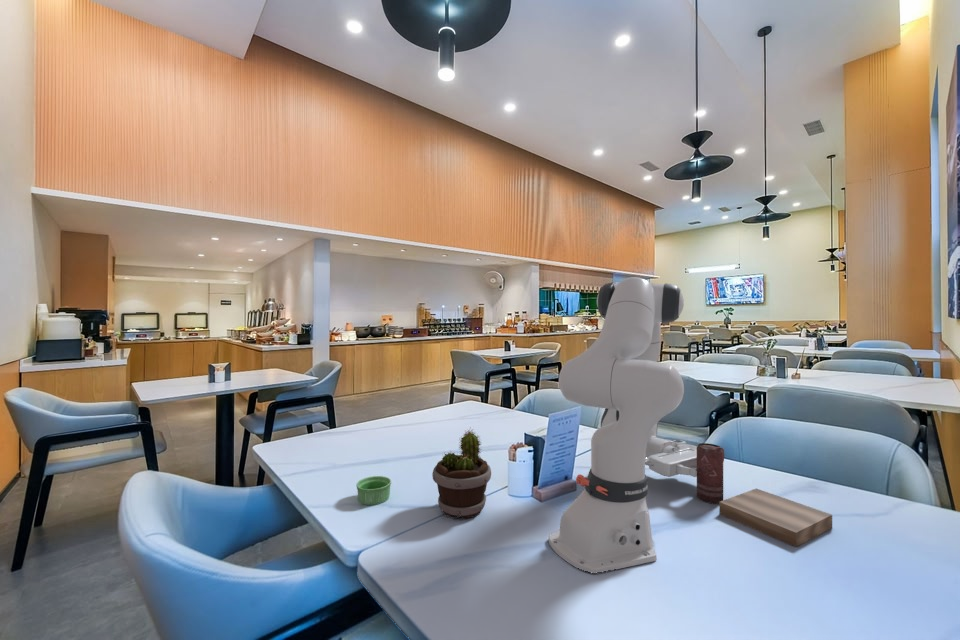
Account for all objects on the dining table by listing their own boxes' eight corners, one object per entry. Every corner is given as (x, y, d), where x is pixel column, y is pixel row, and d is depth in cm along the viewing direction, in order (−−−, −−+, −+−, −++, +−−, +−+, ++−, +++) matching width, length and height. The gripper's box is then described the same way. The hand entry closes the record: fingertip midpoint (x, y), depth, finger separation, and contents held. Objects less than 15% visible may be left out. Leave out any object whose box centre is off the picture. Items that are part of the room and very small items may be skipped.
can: (728, 505, 102) (728, 450, 102) (701, 503, 103) (701, 448, 103) (719, 495, 108) (719, 443, 108) (693, 493, 109) (693, 441, 109)
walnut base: (796, 547, 83) (796, 532, 83) (719, 514, 97) (719, 501, 97) (832, 527, 91) (832, 514, 91) (756, 499, 105) (756, 488, 105)
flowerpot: (463, 532, 90) (463, 443, 90) (420, 510, 100) (419, 430, 100) (504, 509, 100) (504, 429, 100) (461, 491, 111) (461, 419, 111)
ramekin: (398, 498, 107) (397, 482, 107) (368, 510, 101) (368, 492, 101) (379, 488, 113) (379, 473, 113) (350, 499, 107) (349, 482, 107)
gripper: (638, 449, 113) (683, 465, 101) (684, 439, 123) (730, 452, 111) (638, 471, 113) (683, 490, 101) (684, 459, 123) (731, 475, 111)
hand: (708, 470), depth 106 cm, fingers open, 8 cm apart
